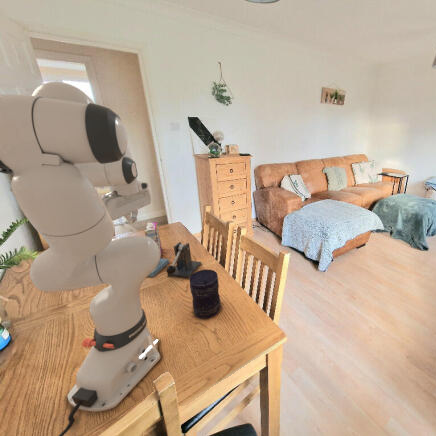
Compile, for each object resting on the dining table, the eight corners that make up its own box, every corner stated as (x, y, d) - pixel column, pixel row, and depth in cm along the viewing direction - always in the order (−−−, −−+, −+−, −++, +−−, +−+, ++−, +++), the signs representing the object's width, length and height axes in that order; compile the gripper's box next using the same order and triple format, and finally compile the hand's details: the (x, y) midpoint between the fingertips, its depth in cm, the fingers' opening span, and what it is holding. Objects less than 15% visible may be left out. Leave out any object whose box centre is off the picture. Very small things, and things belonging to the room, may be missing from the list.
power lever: (174, 275, 103) (171, 272, 100) (167, 274, 103) (163, 271, 101) (188, 248, 112) (185, 243, 109) (181, 247, 112) (178, 243, 109)
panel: (153, 277, 108) (151, 269, 107) (133, 274, 109) (131, 267, 108) (169, 262, 119) (167, 256, 118) (150, 260, 120) (149, 253, 119)
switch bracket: (188, 278, 108) (184, 252, 103) (168, 276, 109) (163, 250, 104) (201, 264, 119) (198, 239, 114) (182, 262, 120) (178, 237, 115)
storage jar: (192, 304, 94) (187, 273, 88) (217, 297, 98) (214, 266, 92) (195, 322, 85) (190, 289, 80) (223, 314, 90) (220, 281, 84)
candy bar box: (161, 258, 122) (156, 230, 116) (150, 260, 120) (144, 231, 114) (162, 248, 132) (157, 221, 125) (152, 250, 130) (146, 222, 123)
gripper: (108, 196, 78) (118, 234, 83) (151, 182, 97) (157, 213, 102) (91, 195, 79) (102, 232, 84) (136, 181, 98) (143, 212, 103)
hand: (132, 222), depth 93 cm, fingers closed
